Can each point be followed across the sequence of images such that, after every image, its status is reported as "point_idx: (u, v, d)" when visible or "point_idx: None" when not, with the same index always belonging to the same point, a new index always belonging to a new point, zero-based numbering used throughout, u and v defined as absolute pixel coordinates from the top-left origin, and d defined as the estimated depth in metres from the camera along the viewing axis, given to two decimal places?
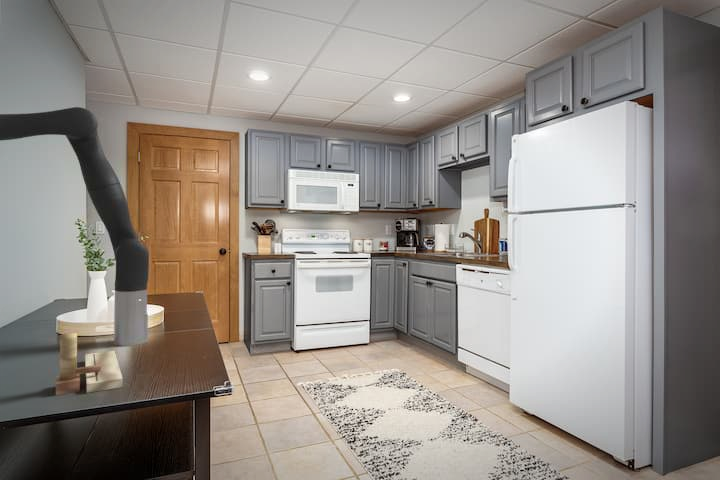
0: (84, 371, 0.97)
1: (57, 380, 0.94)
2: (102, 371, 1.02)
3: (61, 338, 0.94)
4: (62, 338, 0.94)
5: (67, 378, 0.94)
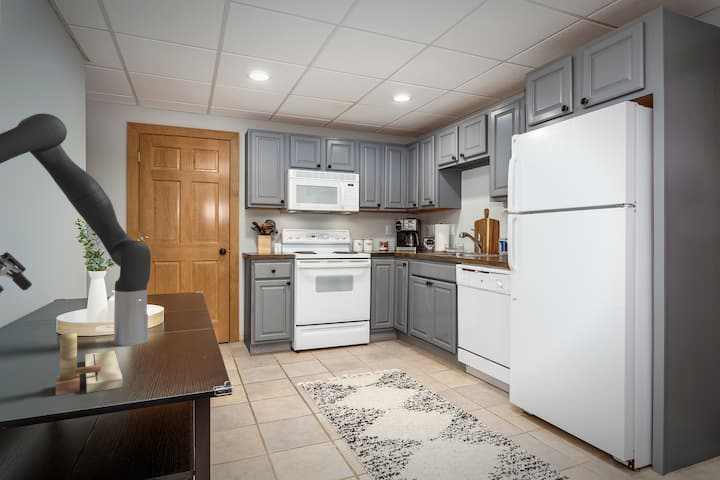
0: (84, 371, 0.97)
1: (57, 380, 0.94)
2: (102, 371, 1.02)
3: (61, 338, 0.94)
4: (62, 338, 0.94)
5: (67, 378, 0.94)
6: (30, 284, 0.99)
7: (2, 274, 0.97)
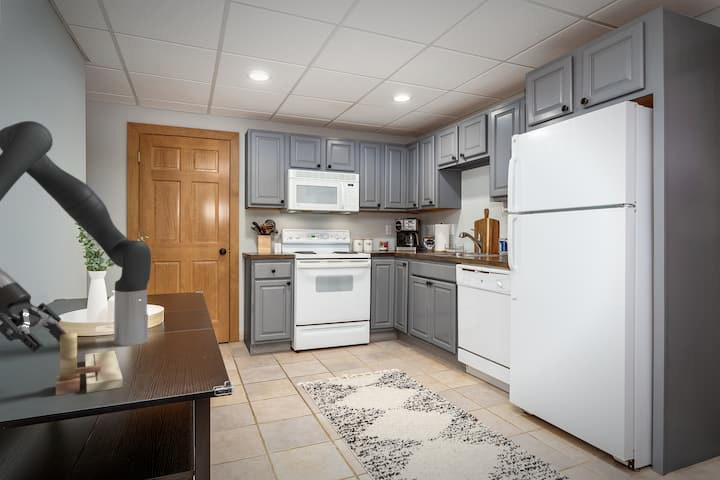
0: (84, 371, 0.97)
1: (57, 380, 0.94)
2: (102, 371, 1.02)
3: (61, 338, 0.94)
4: (62, 338, 0.94)
5: (67, 378, 0.94)
6: None
7: (39, 326, 0.98)
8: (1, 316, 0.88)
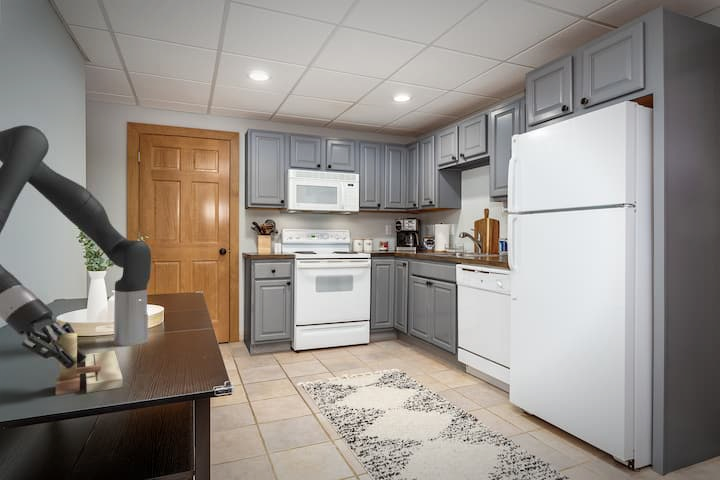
0: (84, 371, 0.97)
1: (57, 380, 0.94)
2: (102, 371, 1.02)
3: (61, 338, 0.94)
4: (62, 338, 0.94)
5: (67, 378, 0.94)
6: (85, 357, 0.98)
7: None
8: (32, 339, 0.89)
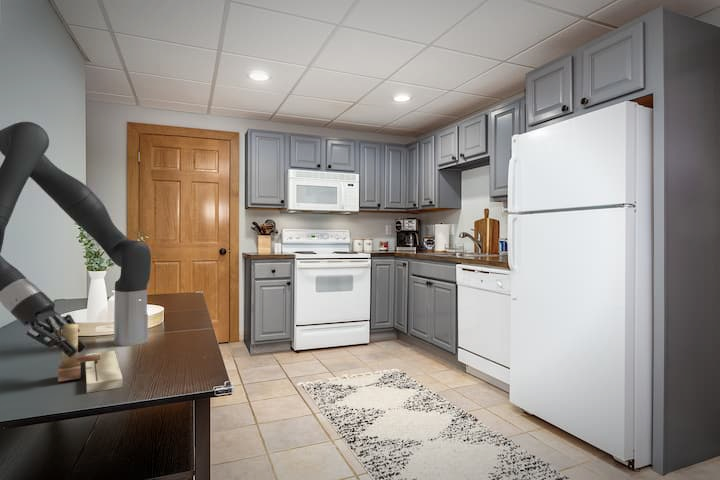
0: (84, 359, 1.03)
1: (59, 368, 1.00)
2: (102, 371, 1.02)
3: (63, 328, 1.00)
4: (64, 328, 1.00)
5: (69, 366, 1.00)
6: (85, 346, 1.04)
7: None
8: (36, 328, 0.95)
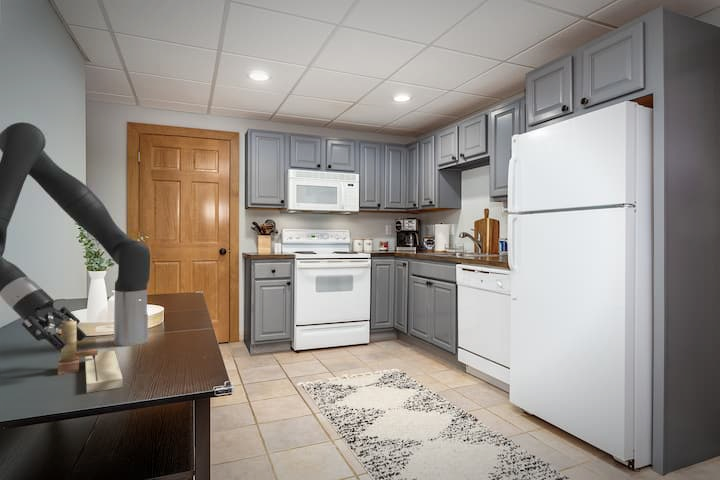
0: (83, 354, 1.09)
1: (59, 362, 1.06)
2: (102, 371, 1.02)
3: (62, 325, 1.06)
4: (63, 324, 1.06)
5: (68, 360, 1.07)
6: (85, 335, 1.12)
7: (61, 327, 1.11)
8: (30, 319, 1.01)
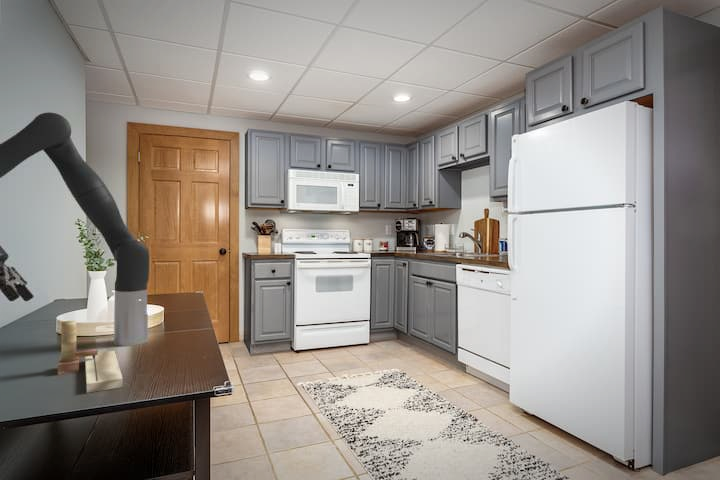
0: (83, 354, 1.09)
1: (59, 362, 1.06)
2: (102, 371, 1.02)
3: (62, 325, 1.06)
4: (63, 324, 1.06)
5: (68, 360, 1.07)
6: (32, 296, 1.13)
7: (9, 285, 1.10)
8: None
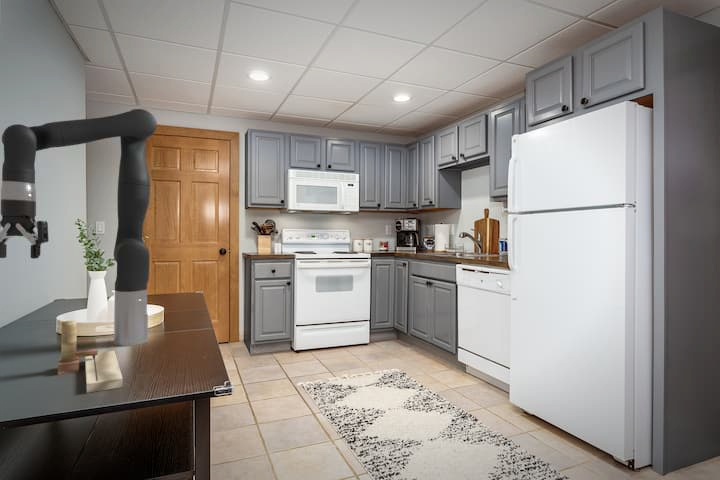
0: (83, 354, 1.09)
1: (59, 362, 1.06)
2: (102, 371, 1.02)
3: (62, 325, 1.06)
4: (63, 324, 1.06)
5: (68, 360, 1.07)
6: None
7: (3, 237, 1.13)
8: (47, 224, 1.16)
